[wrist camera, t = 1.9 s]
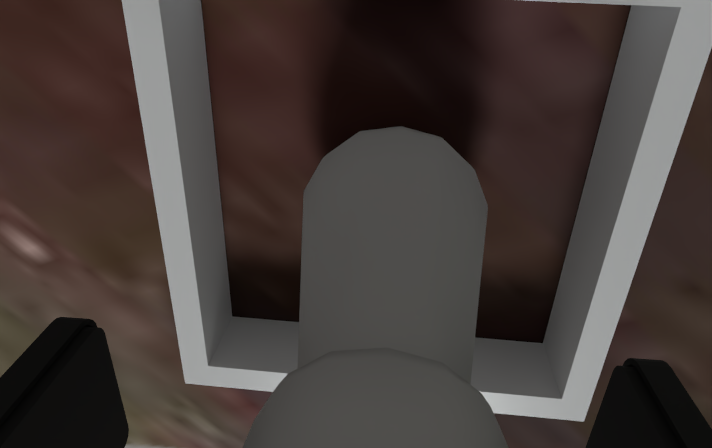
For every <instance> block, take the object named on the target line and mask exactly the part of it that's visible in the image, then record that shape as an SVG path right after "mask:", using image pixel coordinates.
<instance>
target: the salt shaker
mask: <svg viewBox="0 0 712 448" xmlns="http://www.w3.org/2000/svg"><path fill="white" fill-rule="evenodd" d="M487 210H488V205H487V202H486V200H485V197H484V194H483V191H482V189H481V186H480V183H479V181H478V178H477V175H476V172H475V170H474V169H473V168H472V166H471V165H470V164H469V163H468V162H467V161H466V160H465V159H464V158H462V157H461V156H460V155H459V154H458V153H457V152H456V151H455V150H454V149H453V148H452V147H451V146H450V145H449V144H448V143H447V142H446V141H445V140H444V139H443V138H442V137H439V136H436V135H432V134H428V133H425V132H421V131H417V130H414V129H410V128H406V127H403V126H397V127H389V128H381V129H373V130H365V131H359V132H358V133H356V134H355V135H354V136H352V137H351V138H349V139H348V140H346V141H345V142H344V143H342V144H341V145H339V146H338V147H337V148H335V149H334V150H332V151H331V152H330V153H328V154H327V155H326V156H325V157H323V158H322V160H321V162H320V164H319V165H318V167H317V169H316V171H315V172H314V174H313V176H312V178H311V179H310V181H309V183H308V185H307V186H306V188H305V190H304V197H303V226H302V255H301V283H300V312H299V340H298V369H296V370H294V371H292V372H290V373H288V374H287V375H286V377H285V378H284V379H283V380H282V381H281V382H280V383H279V384H278V386H277V387H276V389H275V390H274V392H273V393H272V395H271V396H270V397H269V399H268V400H267V402H266V403H265V405H264V406H263V408H262V409H261V411H260V412H259V414H258V415H257V417H256V418H255V420H254V422H253V424H252V427H251V429H250V432H249V434H248V436H247V439H246V441H245V444H244V446H243V448H508V445H507V443H506V441H505V438H504V436H503V434H502V431H501V429H500V427H499V425H498V422H497V420H496V418H495V415H494V413H493V411H492V408H491V406H490V405H489V403H488V402H487V401H486V399H485V398H484V396H483V395H482V393H480V392H479V391H478V390H477V389H475V388H474V387H473V386H472V385H470V384H471V373H472V363H473V353H474V343H475V333H476V322H477V312H478V302H479V292H480V282H481V271H482V261H483V251H484V241H485V231H486V220H487Z"/></svg>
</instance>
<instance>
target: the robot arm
mask: <svg viewBox="0 0 712 448" xmlns="http://www.w3.org/2000/svg"><path fill="white" fill-rule="evenodd" d="M128 431H129V429H128V423H127V419H126V415H125V411H124V408H123V404H122V400H121V396H120V392H119V388H118V384H117V380H116V376H115V372H114V368H113V364H112V360H111V356H110V352H109V348H108V344H107V340H106V336H105V333H104V330H103V329H102V328H97V325H96V323H95V322H94V321H93V320H91V319H82V318H68V317H59V318H56V319H55V320H54V321H53V322H52V323H51V324H50V325H49V326H48V327H47V328H46V329H45V330H44V331H43V332H42V333H41V334H40V336H39V337H38V338H37V339H36V340H35V341H34V342H33V343H32V344H31V345H30V346H29V347H28V348H27V349H26V351H25V352H24V353H23V354H22V355H21V356H20V357H19V358H18V359H17V360H16V361H15V362H14V363H13V365H12V366H11V367H10V368H9V369H8V370H7V371H6V372H5V373H4V374H3V375H2V376H1V377H0V448H124V447H125V445H126V442H127V438H128ZM586 448H712V429H711V428H710V426H709V425H708V423H707V422H706V420H705V419H704V417H703V415H702V414H701V412H700V411H699V409H698V408H697V406H696V405H695V403H694V402H693V400H692V399H691V397H690V396H689V394H688V393H687V391H686V390H685V388H684V387H683V385H682V384H681V382H680V381H679V379H678V378H677V376H676V374H675V373H674V371H673V370H672V368H671V367H670V366H669V365H668V364H667V363H666V362H664V361H662V360H649V359H635V358H629V359H627V360H626V361H625V362H624V364H623V366H616V367H615V368H614V370H613V373H612V376H611V378H610V381H609V384H608V387H607V390H606V392H605V395H604V398H603V401H602V403H601V406H600V409H599V412H598V415H597V417H596V420H595V423H594V426H593V429H592V431H591V434H590V437H589V440H588V443H587V445H586Z"/></svg>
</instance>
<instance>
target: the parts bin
mask: <svg viewBox="0 0 712 448" xmlns="http://www.w3.org/2000/svg"><path fill="white" fill-rule="evenodd" d="M525 1H548V2H571V3H595V4H618V5H631V9H630V13H629V16H628V20H627V24H626V28H625V32H624V36H623V39H622V43H621V47H620V51H619V55H618V58H617V62H616V66H615V70H614V74H613V78H612V81H611V85H610V89H609V93H608V97H607V100H606V104H605V108H604V112H603V116H602V120H601V123H600V127H599V131H598V135H597V139H596V142H595V146H594V150H593V154H592V158H591V162H590V165H589V169H588V173H587V177H586V181H585V184H584V188H583V192H582V196H581V200H580V204H579V207H578V211H577V215H576V219H575V223H574V226H573V230H572V234H571V238H570V242H569V246H568V249H567V253H566V257H565V261H564V265H563V268H562V272H561V276H560V280H559V284H558V288H557V291H556V295H555V299H554V303H553V307H552V310H551V314H550V318H549V322H548V326H547V330H546V333H545V337H544V341H543V343H534V342H522V341H511V340H499V339H488V338H476V337H475V343H474V353H473V363H472V373H471V384H470V385H472V386H473V387H474V388H475V389H477V390H478V391H479V392H480V393H482V395H483V396H484V398H485V399H486V401H487V402H488V403H489V405H490V406H491V408H492V411H493V413H500V414H510V415H521V416H531V417H542V418H552V419H562V420H573V421H583V422H584V420H585V417H586V414H587V411H588V408H589V405H590V402H591V399H592V396H593V393H594V390H595V387H596V384H597V381H598V379H599V376H600V373H601V370H602V367H603V364H604V361H605V358H606V355H607V352H608V349H609V346H610V343H611V340H612V338H613V335H614V332H615V329H616V326H617V323H618V320H619V317H620V314H621V311H622V308H623V305H624V302H625V299H626V297H627V294H628V291H629V288H630V285H631V282H632V279H633V276H634V273H635V270H636V267H637V264H638V261H639V258H640V255H641V253H642V250H643V247H644V244H645V241H646V238H647V235H648V232H649V229H650V226H651V223H652V220H653V217H654V214H655V212H656V209H657V206H658V203H659V200H660V197H661V194H662V191H663V188H664V185H665V182H666V179H667V176H668V173H669V171H670V168H671V165H672V162H673V159H674V156H675V153H676V150H677V147H678V144H679V141H680V138H681V135H682V132H683V130H684V127H685V124H686V121H687V118H688V115H689V112H690V109H691V106H692V103H693V100H694V97H695V94H696V91H697V89H698V86H699V83H700V80H701V77H702V74H703V71H704V68H705V65H706V62H707V59H708V56H709V53H710V50H711V47H712V0H525ZM122 5H123V11H124V17H125V23H126V29H127V35H128V41H129V47H130V53H131V59H132V65H133V71H134V77H135V83H136V89H137V95H138V101H139V107H140V113H141V119H142V125H143V131H144V137H145V143H146V149H147V156H148V162H149V168H150V174H151V180H152V186H153V192H154V198H155V204H156V210H157V216H158V222H159V228H160V234H161V240H162V246H163V252H164V258H165V264H166V270H167V276H168V282H169V288H170V294H171V300H172V306H173V312H174V318H175V324H176V330H177V336H178V342H179V348H180V355H181V361H182V367H183V373H184V379H185V383H187V384H198V385H208V386H219V387H229V388H240V389H250V390H260V391H271V392H274V390H275V389H276V387H277V386H278V384H279V383H280V382H281V381H282V380H283V379H284V378H285V377H286V375H287V374H288V373H290V372H292V371H294V370H296V369H298V340H299V322H291V321H280V320H268V319H256V318H245V317H233V316H232V308H231V298H230V288H229V278H228V268H227V258H226V248H225V238H224V228H223V218H222V208H221V198H220V188H219V178H218V168H217V158H216V148H215V137H214V127H213V117H212V107H211V97H210V87H209V77H208V67H207V57H206V47H205V37H204V27H203V17H202V7H201V0H122Z"/></svg>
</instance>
